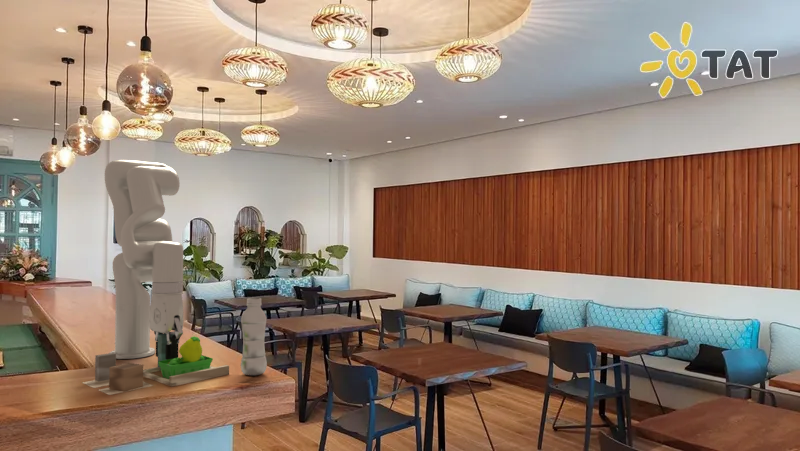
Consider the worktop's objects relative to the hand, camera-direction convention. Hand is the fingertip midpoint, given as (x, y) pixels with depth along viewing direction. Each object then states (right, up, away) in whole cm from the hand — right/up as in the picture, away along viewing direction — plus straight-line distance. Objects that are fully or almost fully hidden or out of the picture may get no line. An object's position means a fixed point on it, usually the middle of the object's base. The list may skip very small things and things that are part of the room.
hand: (166, 356), depth 145 cm
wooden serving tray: (+6, -4, -5) cm, 9 cm away
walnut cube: (-2, -3, -18) cm, 19 cm away
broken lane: (-5, -4, -15) cm, 17 cm away
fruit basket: (+8, -5, -7) cm, 11 cm away
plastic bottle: (+24, -5, -2) cm, 24 cm away
